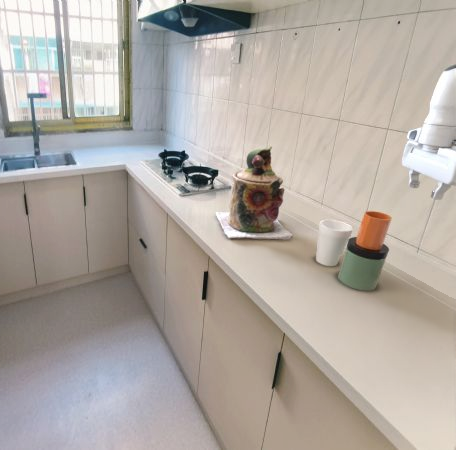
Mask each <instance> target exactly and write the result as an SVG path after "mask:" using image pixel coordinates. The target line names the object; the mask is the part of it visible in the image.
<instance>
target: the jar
mask: <svg viewBox="0 0 456 450" xmlns="http://www.w3.org/2000/svg"><path fill="white" fill-rule="evenodd" d="M345 247H346V248H345V250H344V254H343V258H342V261H341V265H340V268H339V271H338V276H337V278H338V280H339V281H340V282H341V283H342V284H343V285H345V286H347V287H348V288H351V289H355V290H358V291H364V292H365V291H366V292H368V291H369V292H370V291H374V290H375V289H376V288H377V285H378V282H379V280H380V276H381V274H382V271H383V268H384V265H385V263H386V260H387V257H386V258H384V259H369V258H365V257H361V256H358V255H356V254H354V253H352V252H351V251H349V250H348V249H347V246H345Z"/></svg>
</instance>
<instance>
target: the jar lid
mask: <svg viewBox="0 0 456 450" xmlns="http://www.w3.org/2000/svg"><path fill="white" fill-rule="evenodd" d="M356 238H357V236H353V237H352V236H351V237H349V239H348V241H347V244H346V247H347V249H348V250H349V251H351V252H352V253H354V254H356V255H358V256H361V257H365V258H369V259H384V258H386V259H387V257H388V254H389V252H390V248H389V246H387V245H386V244H385V243H383V246H382V248H381V249H379V250H371V249H366V248H363V247H361V246H359V245H358V244H356Z"/></svg>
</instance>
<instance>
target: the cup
mask: <svg viewBox="0 0 456 450" xmlns="http://www.w3.org/2000/svg"><path fill="white" fill-rule="evenodd" d="M391 222H392V216H390V215H389V214H387V213H384V212H380V211H375V210H367V211H364V213H363V215H362V218H361V222H360V226H359V229H358V232H357V235H356V237H357V238H356V244H358V245H359V246H361V247H363V248H366V249H371V250H379V249H381V248H382V246H383V244H385V243H384V242H385V240H386V236H387V234H388V231H389V227H390V226H391Z"/></svg>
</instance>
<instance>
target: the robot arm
mask: <svg viewBox="0 0 456 450" xmlns="http://www.w3.org/2000/svg"><path fill="white" fill-rule="evenodd" d="M407 140H408V141H406V144H405V145H404V149H403V153H402V158H401V166H402V167H405V168H407V169H409V171H408V176H409V177H408V178H409V182H408V184H407V185H408V187H409V188H411V189H417V188H419V187H420V184H421V181H419V180H420V175H423V176H425V177H429V178H431V179H433V180H435V181H437V188H436V189H435V190H432V191H431V194H430V198H431V199H434V200H437V201H438V200H439V201H440V200H443V198H444V196H445V193H446V192H448V191H449V190H450V189H451V188H452V186H455V187H456V64H453V65H450V66H448V67H447V68H446V69H444V71H443V72H442V73H441V74H440V76H439V78H438V80H437V83H436V85H435V87H434V90H433V93H432V96H431V99H430V102H429V111H428V114H427V116H426V118H425V119H424V121H423V124H422V126H421V127H418V128H415V129H411V130H409V131H408V132H407Z"/></svg>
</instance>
